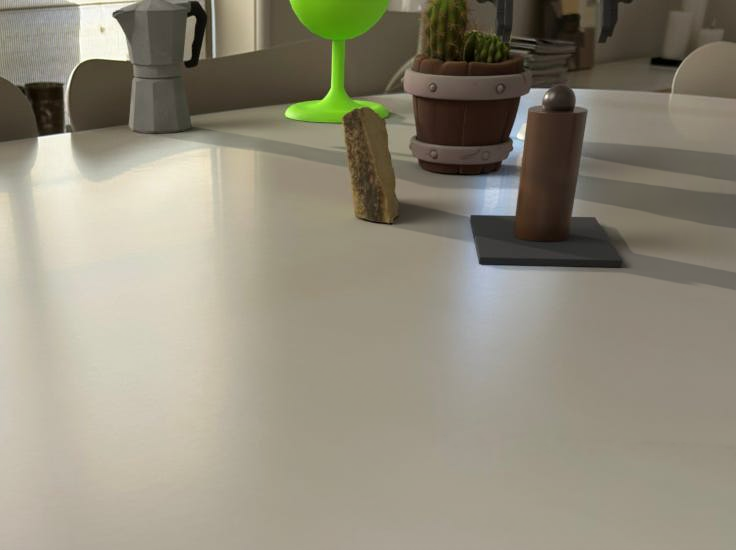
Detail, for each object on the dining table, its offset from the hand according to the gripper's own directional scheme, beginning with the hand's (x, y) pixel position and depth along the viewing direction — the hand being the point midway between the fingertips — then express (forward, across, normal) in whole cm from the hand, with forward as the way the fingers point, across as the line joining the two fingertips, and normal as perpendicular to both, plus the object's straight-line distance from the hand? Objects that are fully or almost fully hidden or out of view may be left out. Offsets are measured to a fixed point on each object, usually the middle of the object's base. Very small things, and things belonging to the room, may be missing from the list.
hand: (555, 36), depth 95 cm
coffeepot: (-28, -47, +51) cm, 74 cm away
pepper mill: (+16, 0, +6) cm, 17 cm away
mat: (+17, 0, +6) cm, 18 cm away
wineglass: (-38, -23, +61) cm, 75 cm away
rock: (+8, -15, +15) cm, 22 cm away
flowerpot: (-8, -6, +32) cm, 33 cm away
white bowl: (-22, +5, +45) cm, 50 cm away
